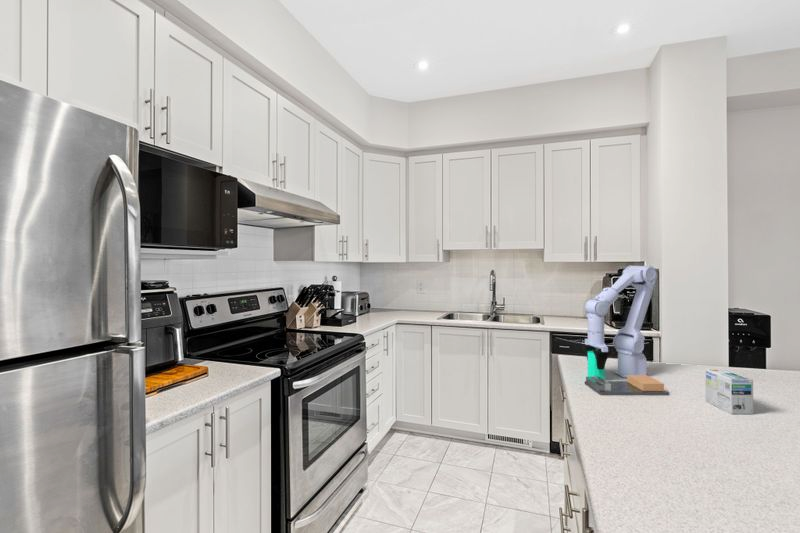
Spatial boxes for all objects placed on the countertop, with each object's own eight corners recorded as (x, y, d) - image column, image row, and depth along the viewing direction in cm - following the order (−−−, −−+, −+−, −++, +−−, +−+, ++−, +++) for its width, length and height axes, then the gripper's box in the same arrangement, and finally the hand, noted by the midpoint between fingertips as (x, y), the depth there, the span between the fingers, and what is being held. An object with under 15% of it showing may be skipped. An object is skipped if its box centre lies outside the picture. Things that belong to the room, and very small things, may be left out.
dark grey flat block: (647, 383, 146) (647, 374, 145) (668, 395, 134) (668, 385, 133) (584, 383, 146) (584, 374, 146) (600, 395, 134) (600, 385, 134)
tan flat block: (646, 381, 145) (646, 375, 144) (664, 391, 135) (664, 383, 134) (627, 381, 145) (627, 375, 145) (643, 391, 135) (643, 383, 135)
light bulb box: (754, 414, 117) (754, 378, 117) (731, 414, 117) (731, 378, 117) (725, 401, 128) (725, 368, 127) (704, 401, 128) (704, 368, 127)
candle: (600, 376, 155) (601, 346, 154) (607, 381, 149) (607, 350, 148) (585, 376, 155) (585, 346, 155) (590, 381, 149) (591, 349, 149)
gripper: (577, 327, 159) (577, 361, 159) (594, 335, 144) (594, 371, 145) (594, 327, 159) (594, 361, 159) (613, 334, 144) (613, 371, 144)
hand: (595, 366), depth 152 cm, fingers open, 7 cm apart
